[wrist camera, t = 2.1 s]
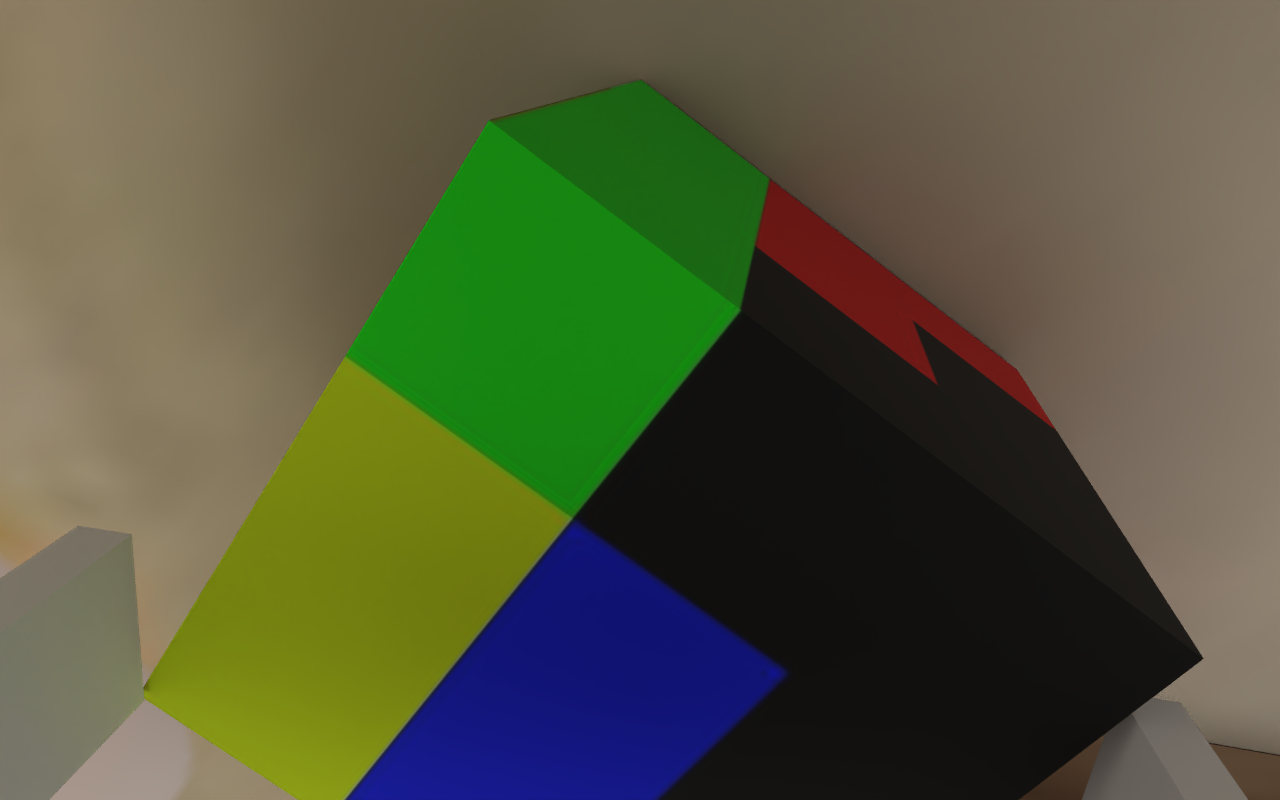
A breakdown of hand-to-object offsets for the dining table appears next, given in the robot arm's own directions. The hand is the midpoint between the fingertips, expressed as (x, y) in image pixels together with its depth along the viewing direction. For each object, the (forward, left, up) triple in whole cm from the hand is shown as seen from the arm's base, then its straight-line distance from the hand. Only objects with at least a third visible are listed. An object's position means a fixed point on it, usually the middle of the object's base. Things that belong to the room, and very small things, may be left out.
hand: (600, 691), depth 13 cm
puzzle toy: (-1, 0, -10) cm, 10 cm away
